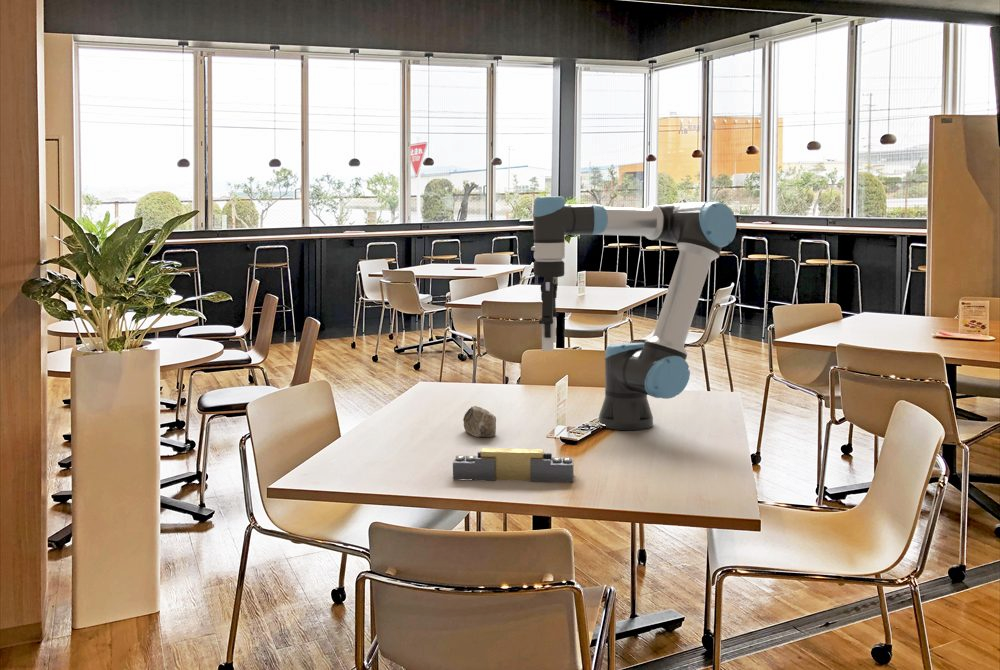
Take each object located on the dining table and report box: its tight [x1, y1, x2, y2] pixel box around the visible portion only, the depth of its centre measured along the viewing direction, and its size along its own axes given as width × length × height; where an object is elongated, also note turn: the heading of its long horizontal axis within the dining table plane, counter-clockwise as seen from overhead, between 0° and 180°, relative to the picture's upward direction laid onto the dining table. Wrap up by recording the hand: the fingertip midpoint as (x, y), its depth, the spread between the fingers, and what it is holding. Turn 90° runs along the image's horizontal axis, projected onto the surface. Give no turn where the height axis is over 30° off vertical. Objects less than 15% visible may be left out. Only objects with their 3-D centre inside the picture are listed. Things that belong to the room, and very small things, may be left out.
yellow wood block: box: [480, 447, 545, 481], centre depth 202 cm, size 14×3×6 cm, turn 84°
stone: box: [462, 405, 497, 438], centre depth 242 cm, size 7×12×7 cm, turn 33°
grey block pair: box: [452, 451, 575, 484], centre depth 203 cm, size 27×6×5 cm, turn 84°
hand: (549, 346), depth 220 cm, fingers open, 13 cm apart
